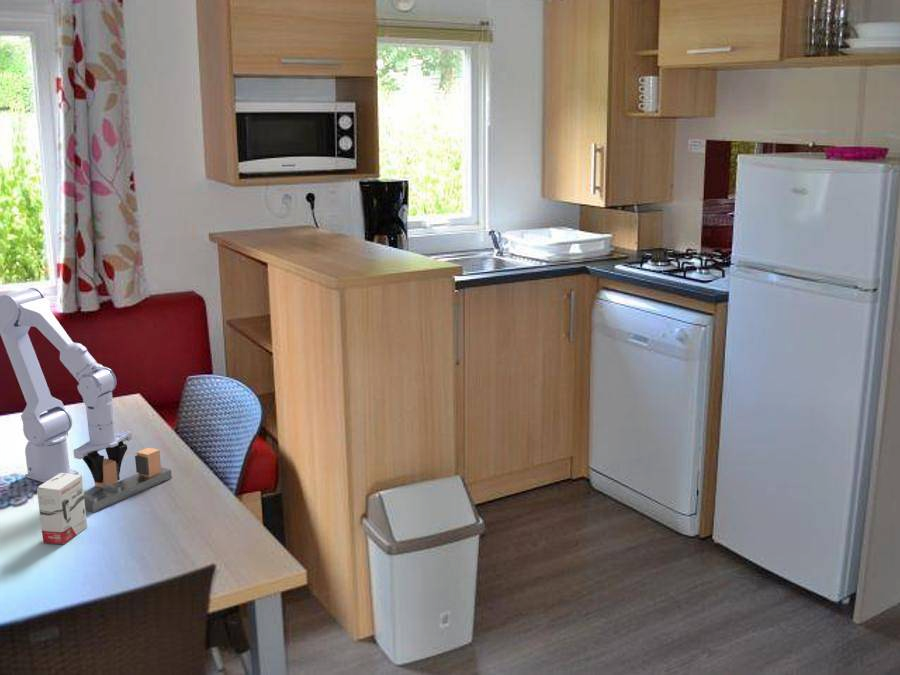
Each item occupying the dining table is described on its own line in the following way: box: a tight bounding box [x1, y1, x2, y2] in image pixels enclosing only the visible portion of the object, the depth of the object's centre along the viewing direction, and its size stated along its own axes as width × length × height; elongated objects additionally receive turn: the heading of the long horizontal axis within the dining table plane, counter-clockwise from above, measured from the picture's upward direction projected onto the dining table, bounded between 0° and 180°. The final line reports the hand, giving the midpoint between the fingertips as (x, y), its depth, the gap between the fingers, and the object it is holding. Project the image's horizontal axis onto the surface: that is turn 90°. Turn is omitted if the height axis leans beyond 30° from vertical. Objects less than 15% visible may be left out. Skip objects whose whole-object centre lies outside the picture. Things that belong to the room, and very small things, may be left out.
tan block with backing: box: [94, 457, 121, 489], centre depth 216 cm, size 4×4×6 cm
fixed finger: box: [134, 447, 162, 478], centre depth 216 cm, size 4×4×6 cm
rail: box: [84, 467, 173, 513], centre depth 211 cm, size 5×22×3 cm, turn 149°
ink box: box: [36, 473, 88, 545], centre depth 190 cm, size 9×5×12 cm, turn 168°
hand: (107, 478), depth 216 cm, fingers closed on tan block with backing, 4 cm apart
